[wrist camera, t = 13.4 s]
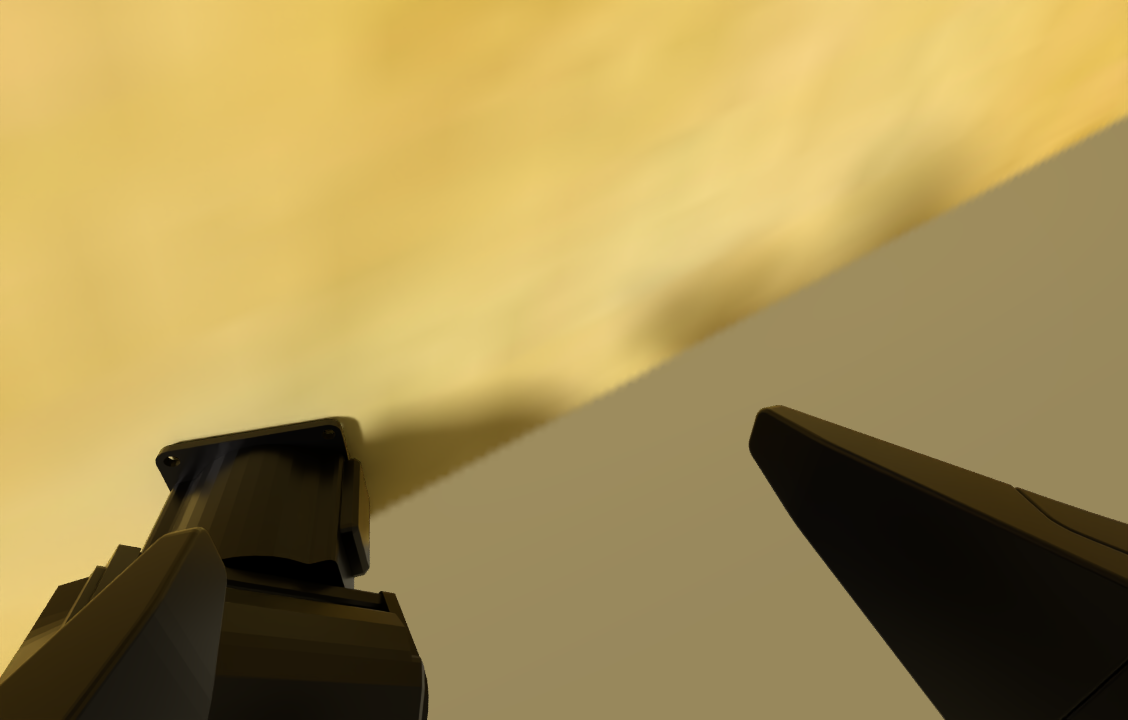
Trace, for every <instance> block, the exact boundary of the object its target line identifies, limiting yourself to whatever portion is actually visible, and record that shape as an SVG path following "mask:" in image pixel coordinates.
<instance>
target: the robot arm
mask: <svg viewBox="0 0 1128 720" xmlns="http://www.w3.org/2000/svg"><path fill="white" fill-rule="evenodd" d="M325 430H333V431H334V433H331V434H327V433H325V432H324V431H325ZM749 450H750V453H751V455H752V457H753V458H754V460H755V461H756V463H757V465H758V466H759V468H760V469H761V471H762V473H763V474H764V475H765V477H766V479H767V480H768V482H769V484H770V485H771V487H772V488H773V490H774V492H775V493H776V495H777V496H778V498H779V499H780V501H781V502H782V504H783V506H784V507H785V509H786V510H787V512H788V513H789V515H790V517H791V518H792V519H793V521H794V522H795V524H796V525H797V527H798V528H799V529H800V531H801V532H802V534H803V535H804V536H805V537H806V539H807V540H808V541H809V543H810V544H811V545H812V547H813V548H814V549H815V550H816V552H817V553H818V554H819V556H820V557H821V558H822V560H823V561H824V562H825V564H826V565H827V566H828V568H829V569H830V570H831V572H832V573H833V574H834V575H835V577H836V578H837V579H838V581H839V582H840V583H841V585H842V586H843V587H844V589H845V590H846V591H847V592H848V594H849V595H850V596H851V597H852V599H853V600H854V602H855V603H856V604H857V606H858V607H859V608H860V609H861V611H862V612H863V613H864V615H865V616H866V617H867V619H868V620H869V621H870V623H871V624H872V625H873V626H874V628H875V629H876V630H877V632H878V633H879V634H880V636H881V637H882V638H883V640H884V641H885V642H886V644H887V645H888V646H889V647H890V649H891V650H892V651H893V652H894V654H895V655H896V657H897V658H898V659H899V660H900V662H901V663H902V664H903V666H904V667H905V668H906V670H907V671H908V672H909V674H910V675H911V676H912V678H913V679H914V680H915V681H916V683H917V684H918V685H919V686H920V688H921V689H922V691H923V692H924V693H925V694H926V696H927V697H928V698H929V700H930V701H931V702H932V704H933V705H934V706H935V708H936V709H937V710H938V712H939V713H940V714H941V715H942V717H943V718H944V719H945V720H1128V524H1126V523H1123V522H1120V521H1116V520H1114V519H1110V518H1107V517H1104V516H1101V515H1098V514H1095V513H1091V512H1088V511H1085V510H1082V509H1080V508H1077V507H1074V506H1071V505H1068V504H1065V503H1062V502H1059V501H1055V500H1053V499H1050V498H1047V497H1044V496H1041V495H1038V494H1035V493H1033V492H1030V491H1027V490H1024V489H1021V488H1018V487H1016V488H1014V487H1013V486H1011V485H1009V484H1006V483H1004V482H1001V481H998V480H995V479H992V478H989V477H986V476H983V475H980V474H977V473H975V472H972V471H969V470H966V469H963V468H960V467H958V466H955V465H952V464H949V463H946V462H943V461H940V460H937V459H934V458H931V457H929V456H926V455H923V454H920V453H917V452H914V451H912V450H909V449H906V448H903V447H900V446H897V445H894V444H891V443H888V442H886V441H883V440H880V439H877V438H874V437H871V436H869V435H866V434H863V433H859V432H857V431H854V430H851V429H848V428H846V427H842V426H840V425H837V424H834V423H831V422H828V421H825V420H822V419H819V418H817V417H814V416H811V415H808V414H805V413H802V412H800V411H797V410H794V409H791V408H788V407H785V406H782V405H776V406H771V407H766V408H762V409H761V410H760V411H759V412H758V413H757V415H756V418H755V422H754V426H753V429H752V432H751V436H750V439H749ZM169 456H174V457H177V458H178V459H179V460H172V459H170V458H169ZM155 461H156V465H157V467H158V469H159V471H160V473H161V475H162V477H163V478H164V480H165V482H166V484H167V486H168V488H169V490H170V494H169V496H168V498H167V500H166V503H165V505H164V507H163V509H162V511H161V513H160V515H159V517H158V519H157V521H156V523H155V525H154V527H153V529H152V531H151V533H150V535H149V537H148V539H147V541H146V543H145V545H144V547H143V549H142V551H141V548H137V547H131V546H126V545H120V544H119V546H118V547H117V549H116V550H115V552H114V554H113V555H112V557H111V558H110V560H109V562H108V563H107V565H106V566H105V567H103V566H97V567H96V568H95V570H94V571H93V573H92V574H91V575H90V576H89V577H87V578H84V579H80V580H77V581H74V582H70V583H67V584H64V585H60V586H58V588H57V589H56V591H55V593H54V594H53V596H52V597H51V599H50V601H49V602H48V604H47V605H46V607H45V609H44V610H43V612H42V613H41V615H40V617H39V618H38V620H37V621H36V623H35V625H34V626H33V628H32V629H31V631H30V633H29V634H28V636H27V637H26V639H25V640H24V642H23V644H22V645H21V647H20V648H19V650H18V651H17V653H16V654H15V656H14V657H13V659H12V660H11V662H10V664H9V665H8V667H7V668H6V670H5V671H4V673H3V674H2V676H1V677H0V720H427V716H428V684H427V678H426V674H425V670H424V665H423V662H422V660H421V658H420V657H419V654H418V652H417V649H416V646H415V644H414V641H413V639H412V636H411V634H410V631H409V628H408V626H407V623H406V621H405V618H404V616H403V613H402V610H401V608H400V606H399V603H398V600H397V598H396V595H395V594H394V593H389V592H383V591H380V592H379V593H373V592H367V591H361V590H356V589H354V577H357V576H361V575H364V574H365V573H366V572H367V571H368V569H369V567H370V550H369V548H370V541H369V539H370V537H369V536H370V501H369V496H368V492H367V488H366V484H365V479H364V475H363V471H362V467H361V463H360V462H359V461H358V460H356V459H355V458H354V459H350V456H349V452H348V449H347V445H346V441H345V437H344V433H343V429H342V426H341V424H340V423H339V422H338V421H336V420H332V419H326V420H320V421H314V422H308V423H302V424H296V425H290V426H284V427H277V428H271V429H265V430H259V431H253V432H247V433H241V434H235V435H229V436H222V437H216V438H210V439H204V440H198V441H192V442H186V443H180V444H174V445H169V446H166V447H164V448H163V449H161V451H160V452H159V454H158V456H157V458H156V460H155ZM140 551H141V552H140Z"/></svg>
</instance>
